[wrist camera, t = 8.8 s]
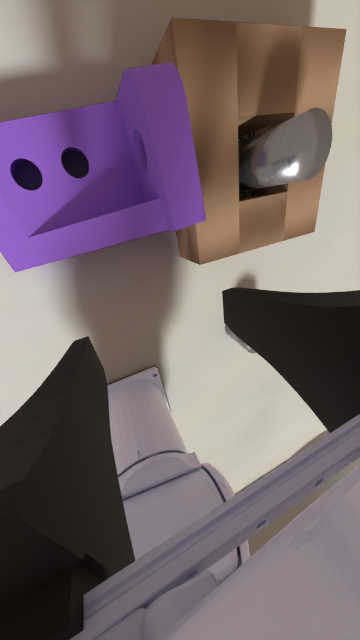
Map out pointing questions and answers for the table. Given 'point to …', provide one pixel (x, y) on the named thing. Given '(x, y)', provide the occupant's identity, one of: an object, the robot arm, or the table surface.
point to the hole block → (248, 122)
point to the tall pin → (286, 151)
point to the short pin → (238, 340)
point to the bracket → (101, 172)
